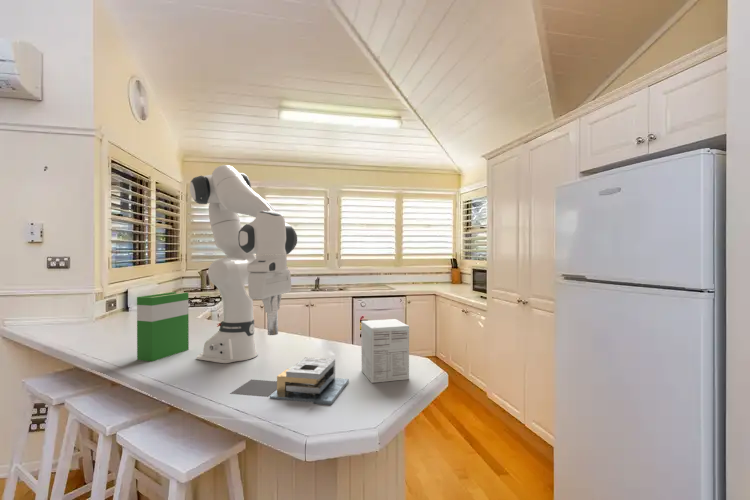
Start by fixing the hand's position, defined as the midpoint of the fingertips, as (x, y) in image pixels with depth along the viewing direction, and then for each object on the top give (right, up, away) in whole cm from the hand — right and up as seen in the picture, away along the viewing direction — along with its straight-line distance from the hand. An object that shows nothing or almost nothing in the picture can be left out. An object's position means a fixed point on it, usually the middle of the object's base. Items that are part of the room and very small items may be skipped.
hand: (272, 311), depth 114 cm
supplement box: (+34, -24, +14) cm, 44 cm away
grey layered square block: (+12, -24, 0) cm, 27 cm away
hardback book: (-54, -24, +39) cm, 71 cm away
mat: (-4, -24, +2) cm, 24 cm away
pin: (0, -7, 0) cm, 7 cm away
